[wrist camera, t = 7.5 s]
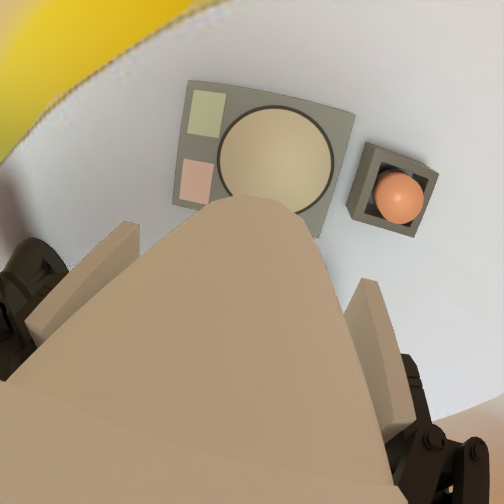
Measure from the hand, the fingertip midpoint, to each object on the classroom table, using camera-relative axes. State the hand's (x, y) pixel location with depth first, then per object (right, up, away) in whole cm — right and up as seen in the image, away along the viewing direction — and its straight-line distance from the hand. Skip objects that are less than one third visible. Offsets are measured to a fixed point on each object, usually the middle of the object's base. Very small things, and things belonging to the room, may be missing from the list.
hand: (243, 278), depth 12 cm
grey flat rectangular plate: (+1, +11, +19) cm, 22 cm away
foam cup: (0, +1, +2) cm, 2 cm away
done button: (+15, +8, +16) cm, 24 cm away
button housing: (+16, +9, +18) cm, 26 cm away
